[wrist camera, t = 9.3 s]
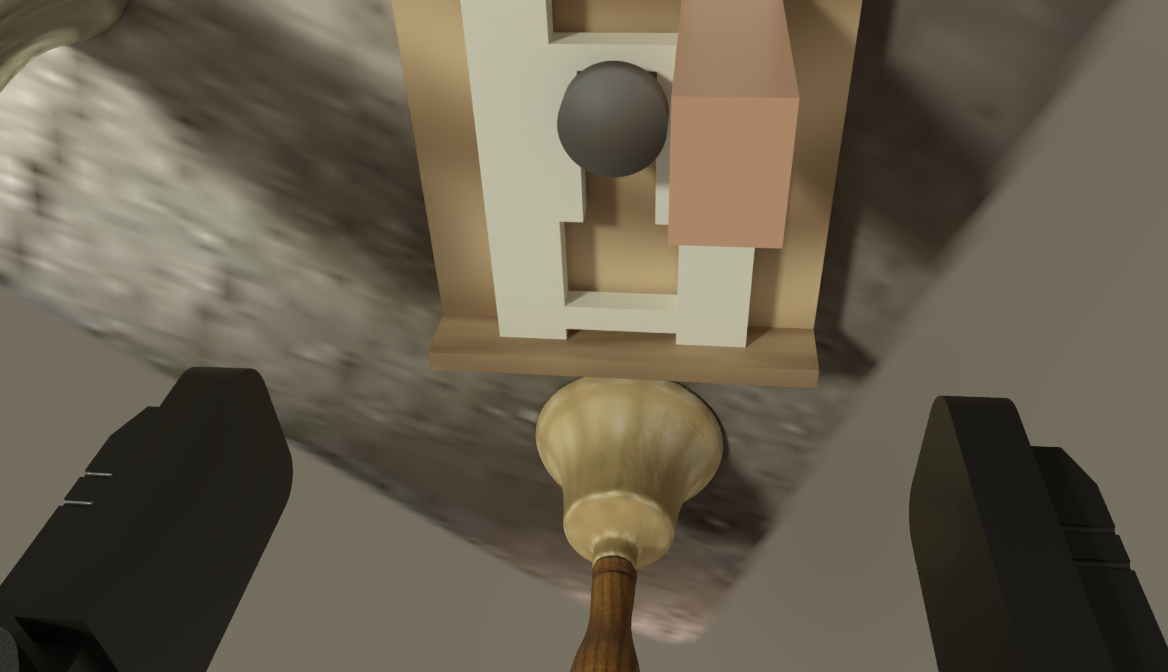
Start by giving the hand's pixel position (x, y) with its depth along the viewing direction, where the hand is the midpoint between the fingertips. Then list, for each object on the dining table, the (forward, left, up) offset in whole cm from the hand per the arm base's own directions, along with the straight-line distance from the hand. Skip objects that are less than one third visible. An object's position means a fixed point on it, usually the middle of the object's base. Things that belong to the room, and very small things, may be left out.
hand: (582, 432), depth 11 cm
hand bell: (+21, -1, -21) cm, 29 cm away
